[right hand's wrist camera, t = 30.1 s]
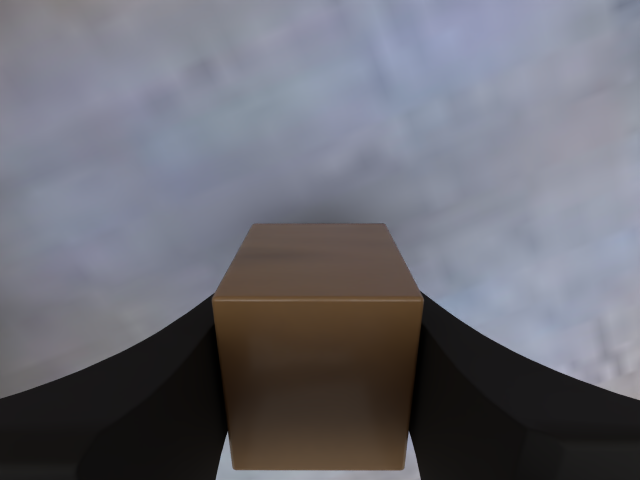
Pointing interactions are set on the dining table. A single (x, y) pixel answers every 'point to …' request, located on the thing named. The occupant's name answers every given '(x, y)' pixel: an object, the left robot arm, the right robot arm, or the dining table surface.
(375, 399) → the brown cube-like block
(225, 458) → the dining table surface
